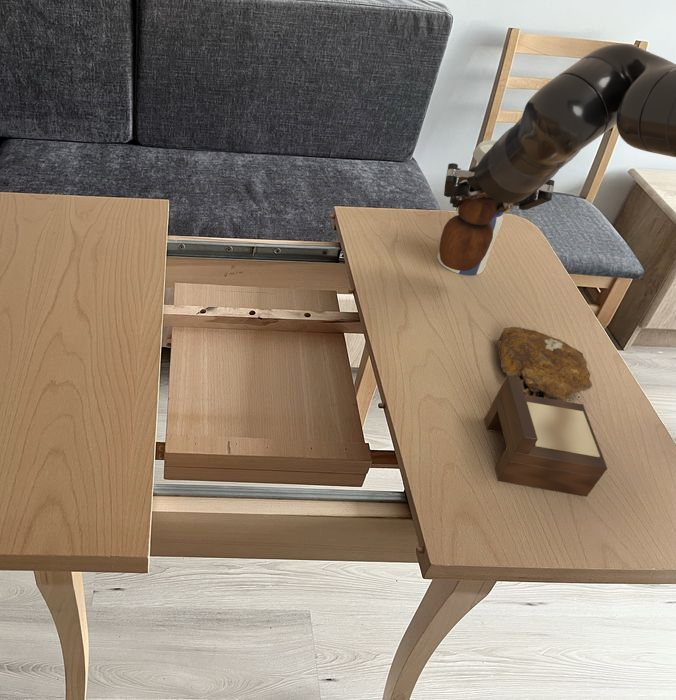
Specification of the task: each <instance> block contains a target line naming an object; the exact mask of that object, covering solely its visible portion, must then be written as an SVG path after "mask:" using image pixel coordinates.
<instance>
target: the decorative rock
mask: <svg viewBox="0 0 676 700" xmlns="http://www.w3.org/2000/svg"><path fill="white" fill-rule="evenodd" d="M498 342H499V345H498V348H497V350H498V355H499V358H500V359H499V360H500V368H501V369H502V372H503V373H505V374H506V376H507V375H509V376H515V377H520V381H521V384H522V387H523V391H524V394H525V395H530V396H536V397H538V396H543V398H548V399H554V400H560V401H565V400H567V399H572V398H573V397H574V395H575V394H579V393H581V392H585V391H587V390H591V388H592V387H593V382H592V381H591V372H590V371H589V369H588V366H587V365H588V361H587V360H586V358H585V357H584V353H583V352H581V351H580V350H579V349H577V348H574V347H572V346H571V345H569V344H568V343H566V342H565V341H563V340H561V339H559V338H556V337H553V336H550V335H547V334H545V333H543V332H540V331H537V330H534V329H527V328H523V327H520V326H519V327H517V326H516V327H515V326H514V327H513V326H511V327H504V328H503V330H502V331H501V333H500V335H499V337H498Z"/></svg>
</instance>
